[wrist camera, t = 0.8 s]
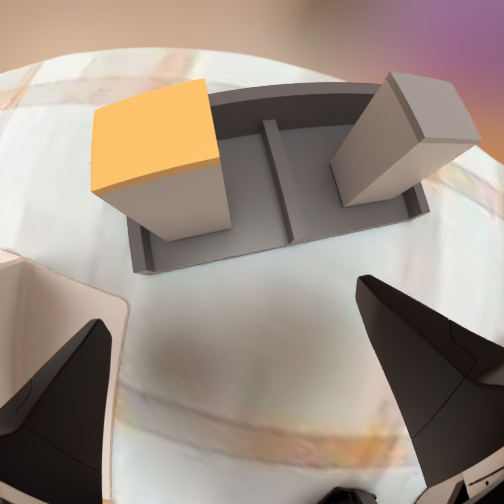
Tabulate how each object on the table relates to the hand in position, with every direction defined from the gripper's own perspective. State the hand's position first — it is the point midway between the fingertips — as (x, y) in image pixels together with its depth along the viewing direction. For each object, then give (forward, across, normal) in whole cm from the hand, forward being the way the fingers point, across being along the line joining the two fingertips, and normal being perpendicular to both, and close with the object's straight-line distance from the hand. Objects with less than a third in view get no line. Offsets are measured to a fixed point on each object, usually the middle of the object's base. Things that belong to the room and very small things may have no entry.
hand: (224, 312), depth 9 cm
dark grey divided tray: (+16, -4, +1) cm, 16 cm away
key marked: (+13, +2, +1) cm, 13 cm away
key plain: (+14, -12, +1) cm, 18 cm away
